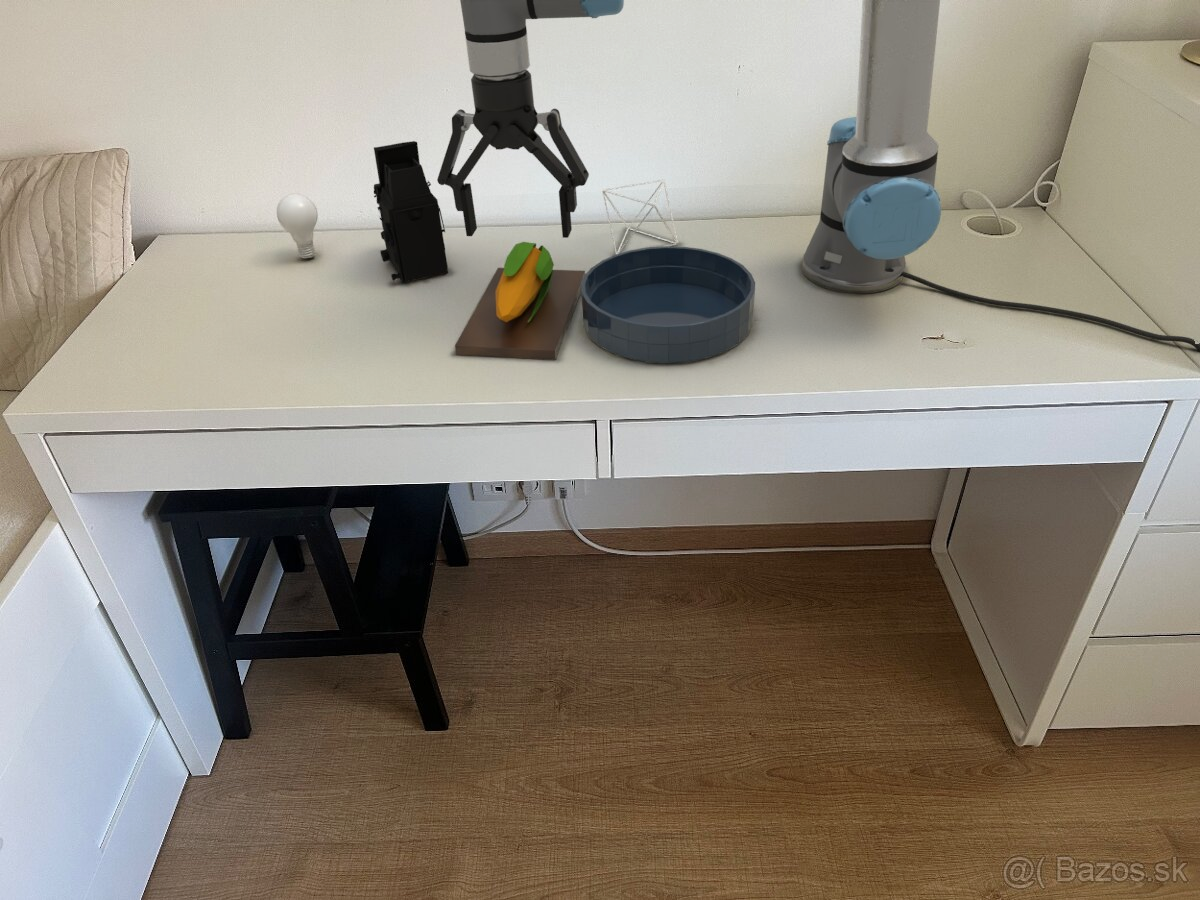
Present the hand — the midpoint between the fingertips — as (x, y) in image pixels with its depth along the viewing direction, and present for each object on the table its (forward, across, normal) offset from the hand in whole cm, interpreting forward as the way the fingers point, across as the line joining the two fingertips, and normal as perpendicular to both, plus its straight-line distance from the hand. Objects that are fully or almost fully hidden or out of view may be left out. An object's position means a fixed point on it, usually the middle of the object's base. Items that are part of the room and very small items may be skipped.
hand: (519, 233), depth 124 cm
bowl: (+13, -20, 0) cm, 24 cm away
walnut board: (+13, 0, 0) cm, 13 cm away
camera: (+13, +22, -15) cm, 30 cm away
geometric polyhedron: (+13, -14, -26) cm, 32 cm away
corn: (+11, 0, 0) cm, 11 cm away
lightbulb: (+12, +42, -16) cm, 46 cm away
